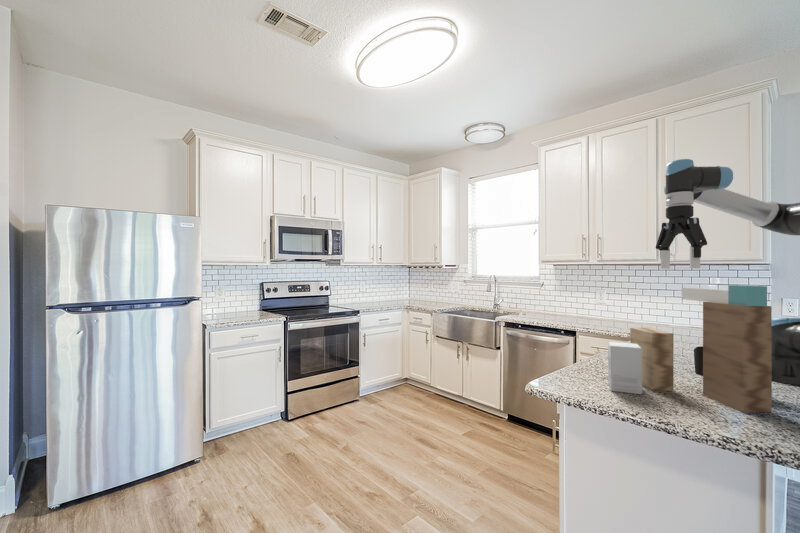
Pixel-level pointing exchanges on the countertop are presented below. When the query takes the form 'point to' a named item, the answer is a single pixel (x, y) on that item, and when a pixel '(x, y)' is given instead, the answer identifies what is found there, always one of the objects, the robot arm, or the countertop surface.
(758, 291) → the teal and white bar
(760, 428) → the countertop surface
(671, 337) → the wooden block
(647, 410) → the countertop surface
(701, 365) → the pen holder
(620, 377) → the supplement box
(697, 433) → the countertop surface
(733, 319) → the tall block
